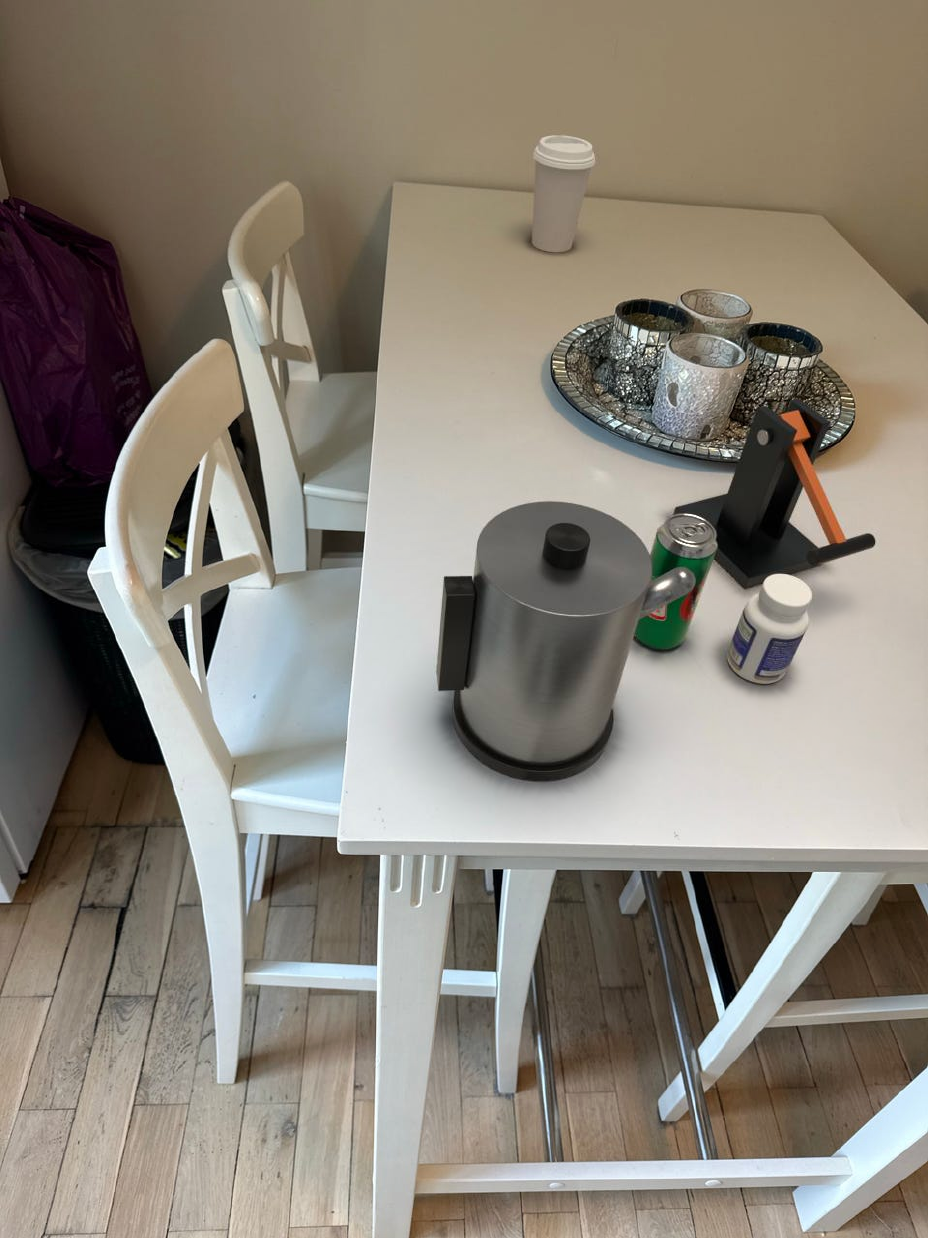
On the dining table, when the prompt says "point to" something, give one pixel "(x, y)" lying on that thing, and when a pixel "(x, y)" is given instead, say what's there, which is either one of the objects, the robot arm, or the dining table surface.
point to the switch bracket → (763, 500)
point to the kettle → (545, 635)
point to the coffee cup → (559, 190)
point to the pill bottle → (770, 629)
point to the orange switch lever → (821, 502)
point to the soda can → (673, 547)
